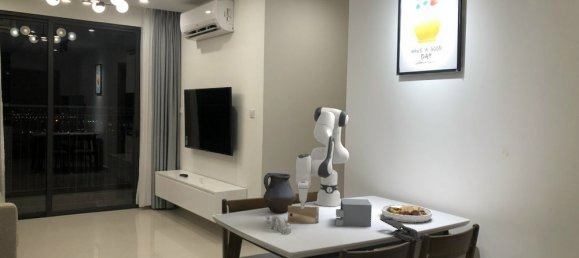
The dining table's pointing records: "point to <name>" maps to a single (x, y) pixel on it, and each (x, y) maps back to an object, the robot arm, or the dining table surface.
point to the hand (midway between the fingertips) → (302, 206)
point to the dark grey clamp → (402, 230)
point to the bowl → (407, 213)
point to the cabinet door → (303, 214)
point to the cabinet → (354, 212)
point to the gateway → (282, 226)
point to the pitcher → (278, 192)
